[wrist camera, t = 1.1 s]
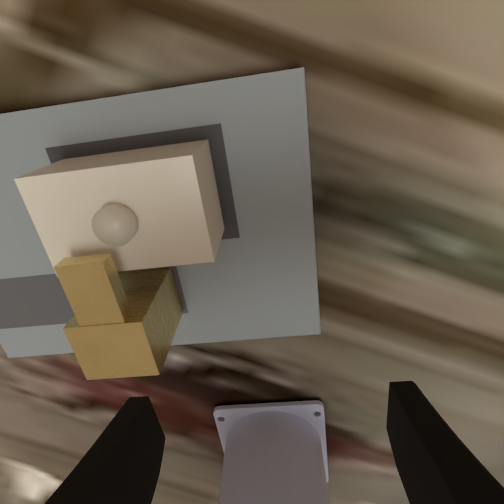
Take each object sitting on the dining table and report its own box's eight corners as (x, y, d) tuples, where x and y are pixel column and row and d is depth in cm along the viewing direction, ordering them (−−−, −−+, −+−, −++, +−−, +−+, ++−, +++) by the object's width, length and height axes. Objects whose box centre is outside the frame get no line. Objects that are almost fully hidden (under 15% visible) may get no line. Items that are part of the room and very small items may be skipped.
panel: (317, 318, 22) (320, 334, 20) (23, 342, 24) (8, 357, 22) (301, 68, 16) (304, 67, 14) (-94, 128, 18) (-124, 133, 16)
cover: (224, 228, 18) (212, 268, 14) (94, 242, 18) (49, 284, 15) (207, 139, 16) (188, 158, 12) (63, 159, 16) (3, 182, 13)
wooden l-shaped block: (183, 311, 20) (159, 374, 16) (125, 316, 20) (87, 379, 16) (157, 215, 17) (120, 260, 13) (91, 223, 18) (34, 269, 14)
